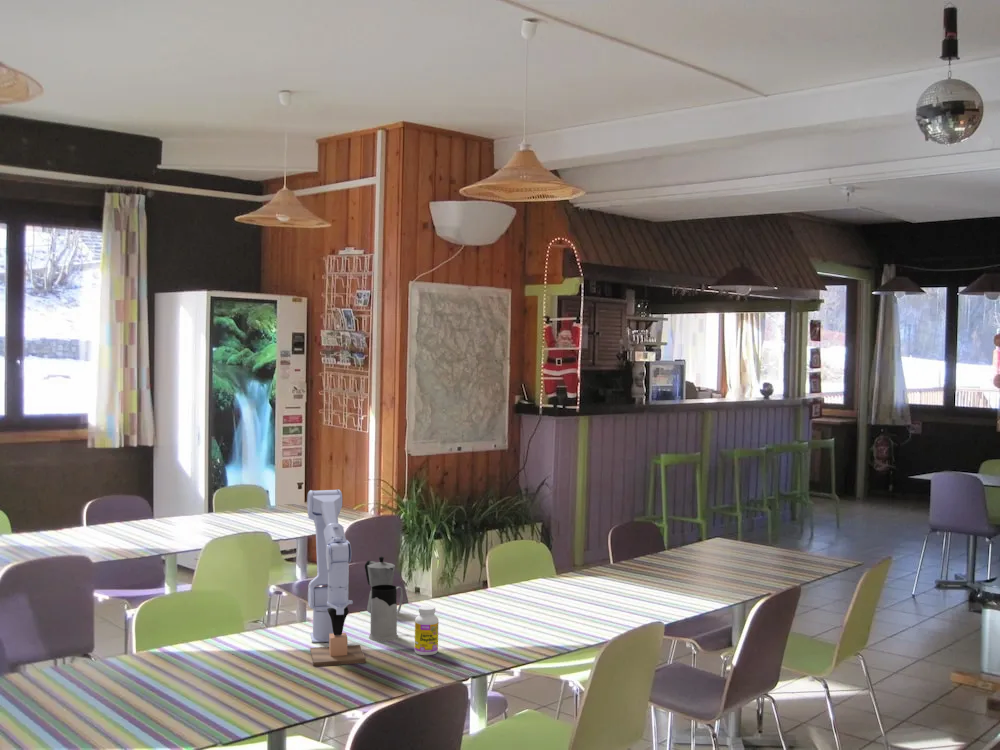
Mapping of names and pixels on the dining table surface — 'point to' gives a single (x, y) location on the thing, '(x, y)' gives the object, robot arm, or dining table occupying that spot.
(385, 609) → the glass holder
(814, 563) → the dining table surface
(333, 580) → the robot arm
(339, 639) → the peach tilted cube
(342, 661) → the post base
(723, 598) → the dining table surface
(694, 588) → the dining table surface
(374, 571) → the coffeepot
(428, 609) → the supplement bottle
